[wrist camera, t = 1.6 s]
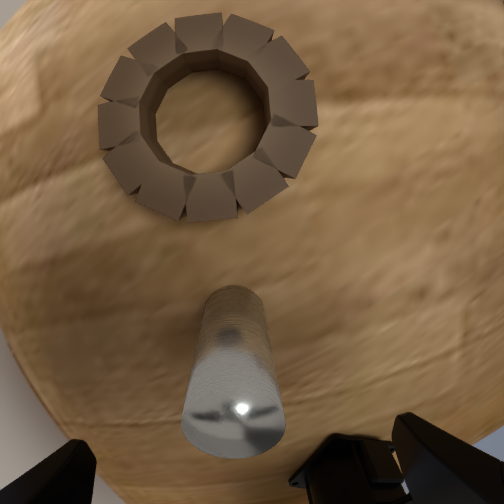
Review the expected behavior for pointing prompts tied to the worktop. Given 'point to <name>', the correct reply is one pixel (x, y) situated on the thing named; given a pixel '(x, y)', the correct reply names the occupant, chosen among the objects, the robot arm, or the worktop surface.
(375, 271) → the worktop surface
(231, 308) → the grey cylinder
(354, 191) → the worktop surface
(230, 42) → the walnut gear
